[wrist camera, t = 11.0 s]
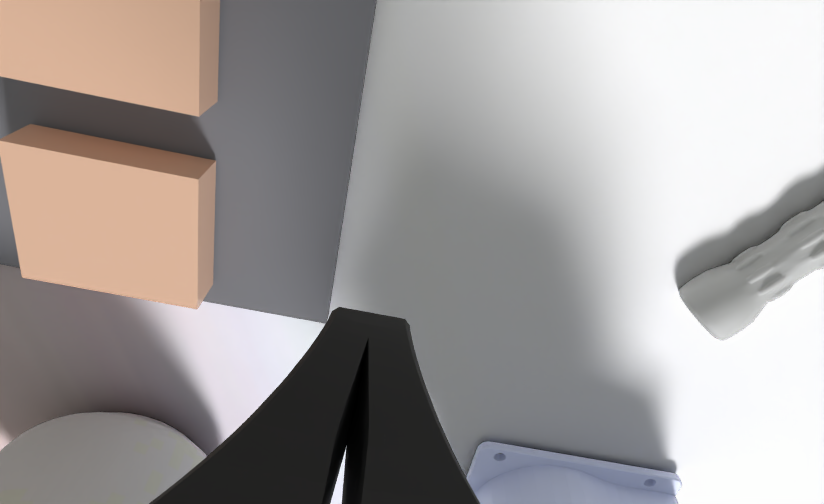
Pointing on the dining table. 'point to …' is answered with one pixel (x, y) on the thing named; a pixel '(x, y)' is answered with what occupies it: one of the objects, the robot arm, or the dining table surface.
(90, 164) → the tile
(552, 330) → the dining table surface
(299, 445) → the robot arm
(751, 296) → the axe
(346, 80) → the mat
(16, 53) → the tile
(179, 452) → the teacup
